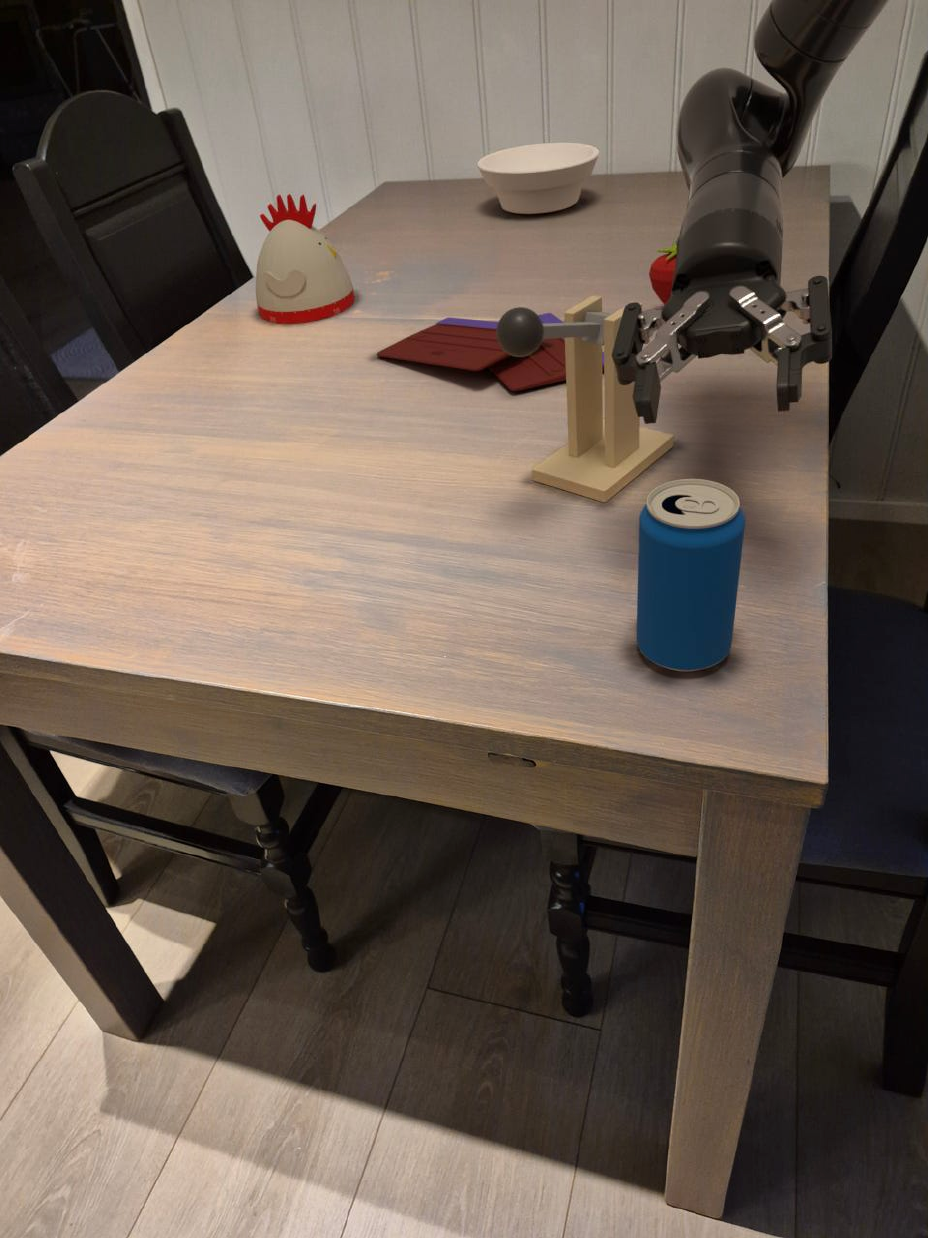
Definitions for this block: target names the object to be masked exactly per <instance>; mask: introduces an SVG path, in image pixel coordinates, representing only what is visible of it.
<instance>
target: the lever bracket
mask: <svg viewBox="0 0 928 1238" xmlns="http://www.w3.org/2000/svg"><path fill="white" fill-rule="evenodd" d="M633 302H634V301H631V302H630V303H633ZM630 303H628V304H630ZM638 303H639V304H640V305H641V310H642V311H643V302H638ZM624 308H625V306H623V307H622V308H620V309H618V310H616V311H615V312H613V314H612V315H610V316H608V317H607V318H605V319H604V345H598V344H593V343H588V342H583V341H582V337H571V338H565V357H566V380H565V381H566V382H565V384H566V412H567V443H566V444H564V445H563V446H562V447H560V448H559V449H557V450H556V451H555V452H553V453H552V454H550V455H549V456H548V457H547V458H545V459H544V460H542V461H541V462H540V463H539V464H537V465H535V466H534V467H532V469H531V476H532V481H534V482H537V483H540V484H544V485H547V486H549V487H553V488H557V489H560V490H563V491H566V492H570V493H573V494H576V495H579V496H583V497H584V498H585V497H586V498H588V499H591V500H592V499H593V500H595V501H598V502H601V503H604V504H605V503H607V502H608V501H609V500H610V499H612V498H613V497H614V496H615V495H616V494H618V493H619V492H620V491H621V490H622V489H623V488H625V487H626V486H627V485H629V484H630V483H631V482H632V481H633V480H635V479H636V478H637V477H638V476H639V475H641V474H642V473H643V472H644V471H645V470H647V469H648V468H649V467H650V466H651V465H653V464H654V463H655V462H656V461H658V460H659V459H660V458H661V457H662V456H664V454H665V453H668V451H670V449H672V448H673V447H674V444H675V443H674V442H675V435H674V434H671V433H667V432H664V431H660V430H655V429H651V428H648V427H643V426H641V417H638V415H637V413H636V410H635V405H634V401H633V397H632V396H633V391H634V384H635V382H634V381H633V382H632V383H631V384H628V385H621V384H619V382H618V378H617V372H616V368H615V364H614V362H613V359H612V351H613V347H614V344H615V340H616V336H617V333H618V329H619V326H620V322H621V318H622V315H623V311H624ZM586 312H603V297H602V296H599V295H591V296H589V297H587V298H586V299H584V300H582V301H581V302H579V303H577V304H575V305H574V306H572V307H571V308H569V309H567V310H565V311H564V312H563V322H564V323H573V322H585V316H586ZM602 352H604V370H602ZM603 374H604V375H603ZM603 377H604V378H603ZM603 379H604V380H603ZM603 381H604V383H603ZM603 384H604V386H603ZM603 387H604V391H603ZM603 392H604V393H603ZM603 395H604V396H603ZM603 399H604V400H603ZM603 401H604V403H603ZM603 409H604V410H603Z"/></svg>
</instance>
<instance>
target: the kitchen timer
mask: <svg viewBox="0 0 928 1238" xmlns="http://www.w3.org/2000/svg"><path fill="white" fill-rule="evenodd" d="M282 197H283V196H282V195H281V194H280V193H279V194H278V195H276V208H275V207H274V205H273V204H272V203H269V204H268V205H267V209H268V212H269V215H270V216H271V220H272V221H271V220H270V219H269V218H268V217H267V216H266V215H265V214H264V213H261V214H260V215H259V218H260V220H261V221H262V223H263V225H264V226H265V227H266V229H267V231H268V233H267V235H266V237H265V239H264V241H263V243H262V246H261V248H260V251H259V254H258V258H257V263H256V272H255V273H256V274H255V300H256V305H257V310H258V313H259V316H260V317H261V319H263V320H265V321H267V322H269V323H274V324H284V325H285V324H286V325H287V324H290V325H291V324H292V325H293V324H303V323H304V324H305V323H310V322H315V321H319V320H324V319H327V318H331V317H333V316H335V315H338V314H341V313H343V312H344V311H346V310H347V309H349V308H350V307H352V305H353V304H354V303H355V293H354V288H353V282H352V280H351V277H350V275H349V272H348V269H347V268H346V267H345V264H344V262H343V260H342V258H341V256H340V254H339V253H338V251H337V249H336V247H334V245H333V243H332V242H331V241H330V240H329V239H328V238H327V237H326V236H325V235H324V234H323V233H322V232H321V231H320V230H319V229H318V228H317V227H316V226H314V225H313V224H314V220H315V215H316V211H317V203H316V202H315V203H314V204H312V207H311V208H310V210H309V209H308V204H307V201H306V196H305V194H301V195H300V197H299V205H298V208H297V206H296V204H295V201H294V199H293V197H292V195H291V193H289V194H287V195H286V201H287V202H286V203H287V206H286V205H285V203H284V200H283V198H282Z"/></svg>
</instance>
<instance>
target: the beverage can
mask: <svg viewBox="0 0 928 1238" xmlns="http://www.w3.org/2000/svg"><path fill="white" fill-rule="evenodd" d="M740 501H741V500H740V498H739V496H738V495H737V493H736V492H735V491H734V490H733V489H732V488H730V487H728V486H726V485H725V484H722V483H719V482H716V481H713V480H708V479H700V478H683V479H676V480H670V481H667V482H665V483H662V484H660V485H658V486H656V487H654V489H652V490H651V491H650V492H649V493H648V495H647V498H646V504H645V505H644V506H643V508H642V510H641V511H640V515H639V519H638V520H639V521H638V551H637V552H638V553H637V555H638V558H637V594H636V595H637V599H636V600H637V601H636V604H637V605H636V606H637V607H636V645H637V648H638V650H639V651H640V652H641V654H642V655H643V656H644V657H645V658H646V659H647V660H649V661H651V662H652V663H654V664H656V665H658V666H661V667H662V668H665V669H668V670H671V671H675V672H684V673H685V672H687V673H688V672H696V671H700V670H704V669H708V668H711V667H713V666H715V665H717V664H719V663H720V662H722V661H723V660H724V659H725V658H726V657H727V656H728V655H729V653H730V652H731V649H732V645H733V634H734V625H735V616H736V607H737V598H738V590H739V582H740V581H739V580H740V573H741V572H740V571H741V562H742V555H743V544H744V535H745V526H746V517H745V515H744V512H743V510H742V508H741V507H740V504H741V502H740Z"/></svg>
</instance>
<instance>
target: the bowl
mask: <svg viewBox="0 0 928 1238" xmlns="http://www.w3.org/2000/svg"><path fill="white" fill-rule="evenodd" d="M599 156H600V151H599V149H598V148H597V147H595V146H593V145H590V144H586V143H579V142H545V143H544V142H543V143H534V144H527V145H520V146H515V147H514V146H513V147H509V148H506V149H502V150H498V151H494V152H491V153H489V154H487V155H485V156H483V157H481V158H480V159H479V160H478V162H477V165H476V166H477V168H478V170H479V172H480V174H481V177H482V178H483V180H484V182H485V184H486V185H487V186H488V187H490V188H493V189H494V190H495V193H496V196H497V198H498V202H499V204H500V207H501V208H502V209H503V210H504V211H506V212H509V213H514V214H522V215H523V214H525V215H533V214H534V215H535V214H544V213H545V214H546V213H552V212H556V211H561V210H565V209H567V208H569V207H572V206H573V205H576V204H577V203H578V202H579V200H580V196H581V192H582V189H583V185H584V181H585V180H586V179H588V178H589V177H590V176H592V174H593V172H594V169H595V166H596V163H597V161H598V158H599Z"/></svg>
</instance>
